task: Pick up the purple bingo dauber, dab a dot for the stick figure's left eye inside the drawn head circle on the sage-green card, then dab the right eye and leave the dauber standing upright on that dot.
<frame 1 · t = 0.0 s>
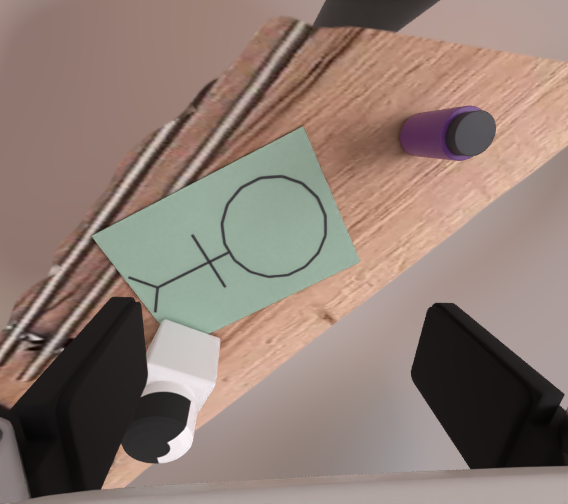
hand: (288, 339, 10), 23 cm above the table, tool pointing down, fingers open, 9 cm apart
medicine bottle: (182, 347, 37), on the table, touching sketch card
dauber: (415, 134, 31), on the table
sketch card: (233, 248, 33), on the table
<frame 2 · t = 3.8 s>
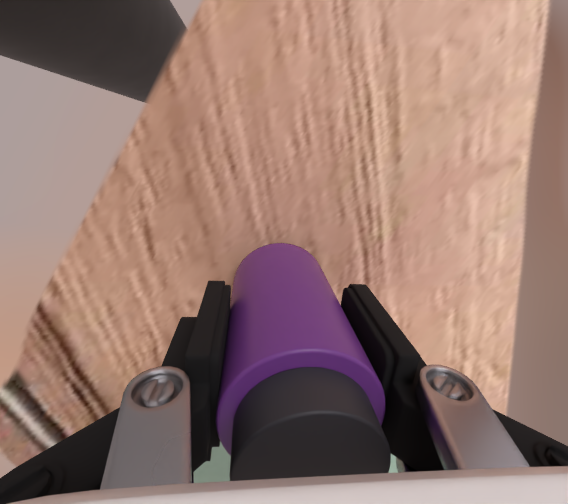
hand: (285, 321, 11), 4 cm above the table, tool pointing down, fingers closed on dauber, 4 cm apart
dauber: (277, 277, 14), on the table, touching gripper
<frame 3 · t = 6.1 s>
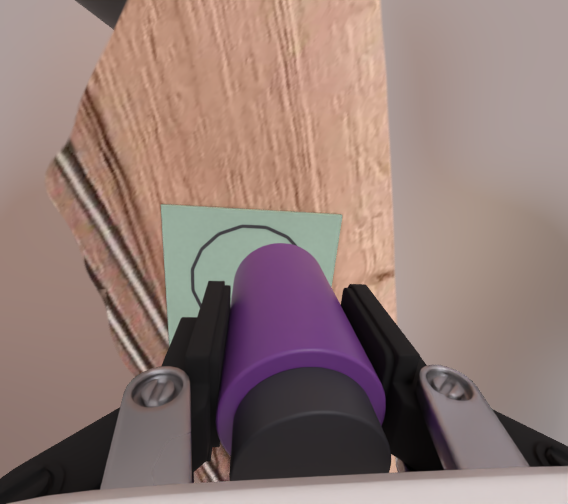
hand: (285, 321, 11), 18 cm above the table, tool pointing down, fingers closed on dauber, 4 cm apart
dauber: (277, 277, 14), point 14 cm above the table, touching gripper
sketch card: (249, 323, 31), on the table
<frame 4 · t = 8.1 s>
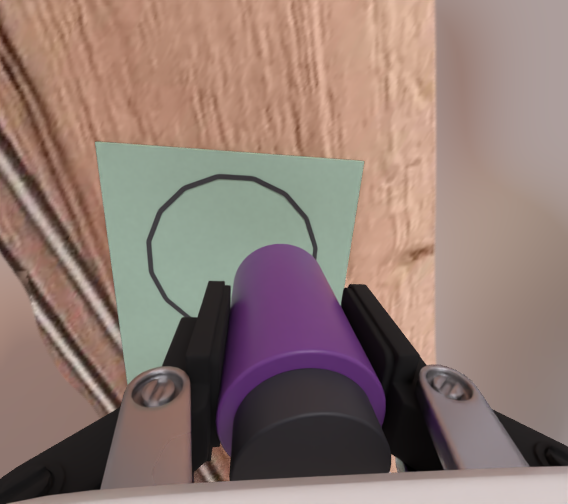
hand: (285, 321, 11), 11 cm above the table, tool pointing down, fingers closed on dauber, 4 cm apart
dauber: (277, 277, 14), point 7 cm above the table, touching gripper
sketch card: (233, 319, 23), on the table
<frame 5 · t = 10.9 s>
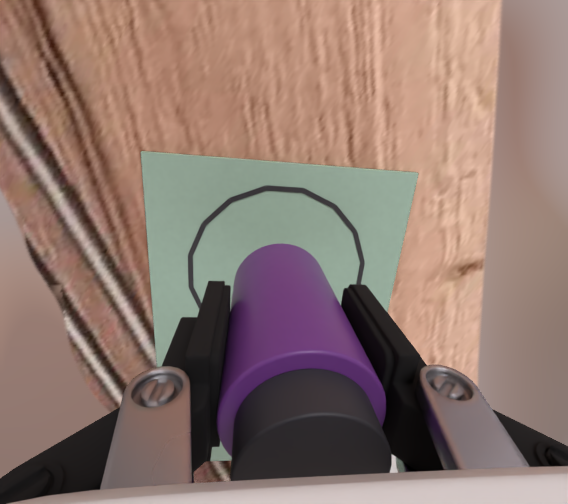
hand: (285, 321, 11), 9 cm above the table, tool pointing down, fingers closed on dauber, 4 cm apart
dauber: (278, 277, 14), point 5 cm above the table, touching gripper
sketch card: (272, 335, 22), on the table
when the fingers open (4 cm above the table, at t = 12.5 s): dauber stays where it is, resting on sketch card.
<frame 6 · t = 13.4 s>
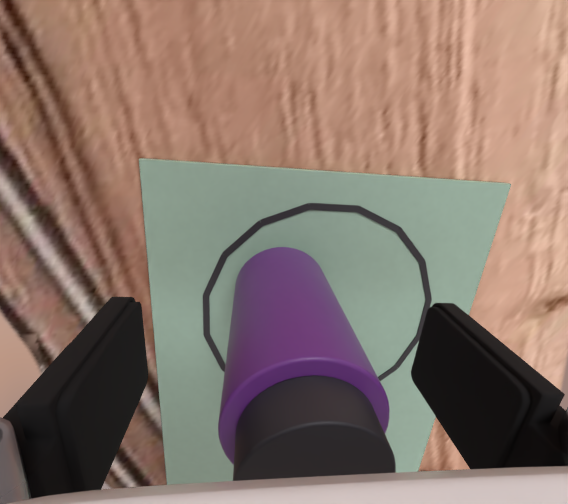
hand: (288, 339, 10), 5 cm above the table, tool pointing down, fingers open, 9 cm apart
dauber: (279, 280, 14), resting on sketch card
sketch card: (308, 389, 17), on the table
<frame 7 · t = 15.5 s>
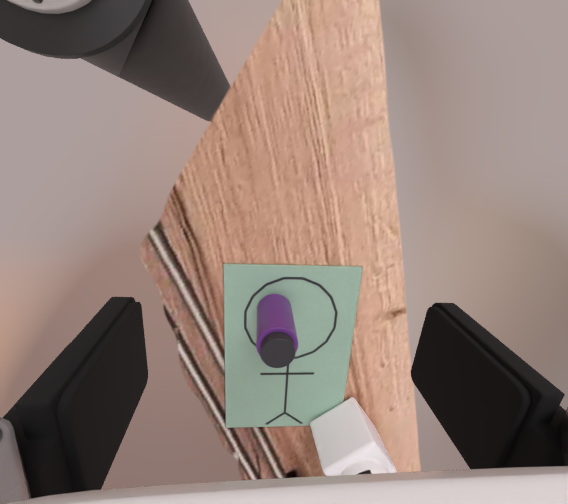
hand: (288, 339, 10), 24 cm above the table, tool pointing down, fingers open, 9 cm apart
medicine bottle: (341, 422, 43), on the table, touching sketch card
dauber: (273, 305, 36), resting on sketch card
sketch card: (288, 352, 39), on the table
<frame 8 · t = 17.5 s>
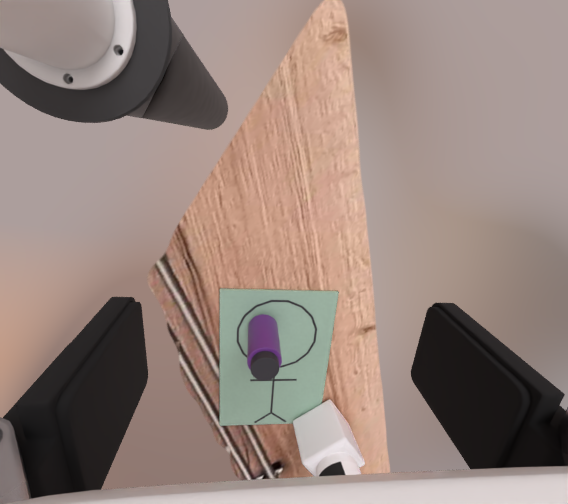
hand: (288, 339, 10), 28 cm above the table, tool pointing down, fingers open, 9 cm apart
medicine bottle: (320, 420, 50), on the table, touching sketch card
dauber: (262, 323, 42), resting on sketch card
sketch card: (274, 361, 45), on the table
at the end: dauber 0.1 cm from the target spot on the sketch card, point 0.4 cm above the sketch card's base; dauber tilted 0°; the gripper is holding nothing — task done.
